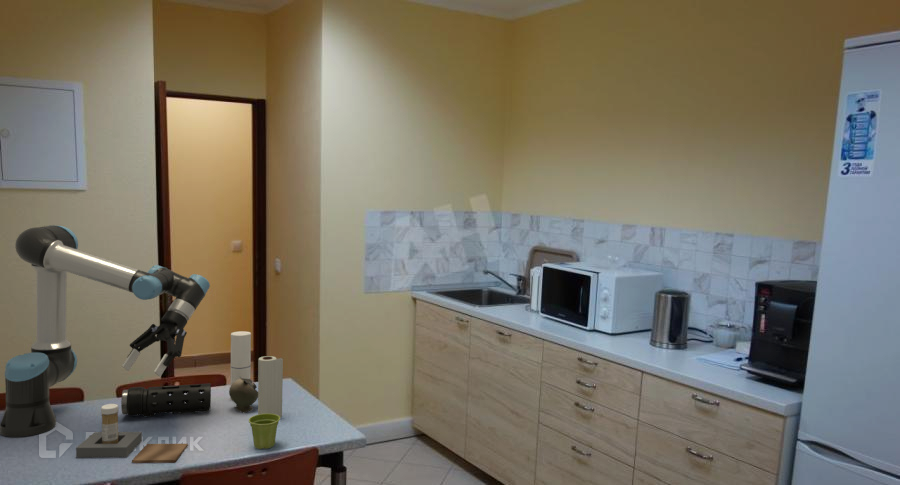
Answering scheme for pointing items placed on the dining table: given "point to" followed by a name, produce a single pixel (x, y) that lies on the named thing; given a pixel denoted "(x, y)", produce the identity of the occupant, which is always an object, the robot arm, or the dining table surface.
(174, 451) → the pad
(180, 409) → the muzzle brake
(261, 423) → the plant pot
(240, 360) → the cylindrical container
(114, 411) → the sprinkles bottle
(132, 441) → the frame
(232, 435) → the dining table surface
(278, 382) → the paper towel roll
